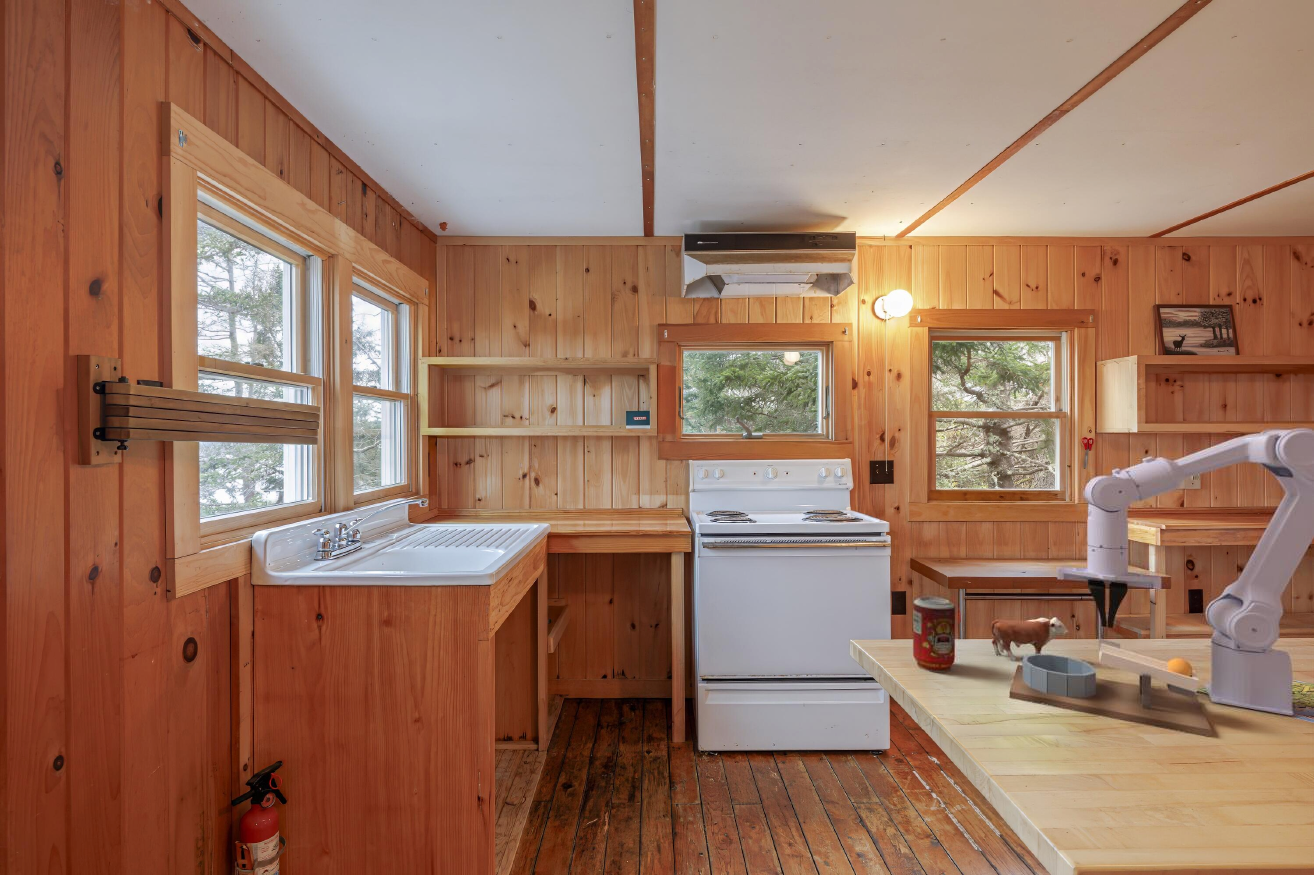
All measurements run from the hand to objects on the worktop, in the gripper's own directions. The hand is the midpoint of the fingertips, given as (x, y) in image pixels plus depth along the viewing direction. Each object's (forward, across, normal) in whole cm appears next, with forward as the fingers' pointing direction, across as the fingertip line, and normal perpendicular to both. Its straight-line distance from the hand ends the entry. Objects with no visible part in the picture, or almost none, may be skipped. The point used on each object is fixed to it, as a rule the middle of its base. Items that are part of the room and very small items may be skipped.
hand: (1107, 626), depth 111 cm
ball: (+3, +9, -8) cm, 13 cm away
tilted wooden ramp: (+6, +4, -4) cm, 8 cm away
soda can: (+10, -26, -8) cm, 29 cm away
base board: (+10, -1, -8) cm, 13 cm away
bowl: (+10, -7, -8) cm, 15 cm away
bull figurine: (+10, -12, +8) cm, 18 cm away
